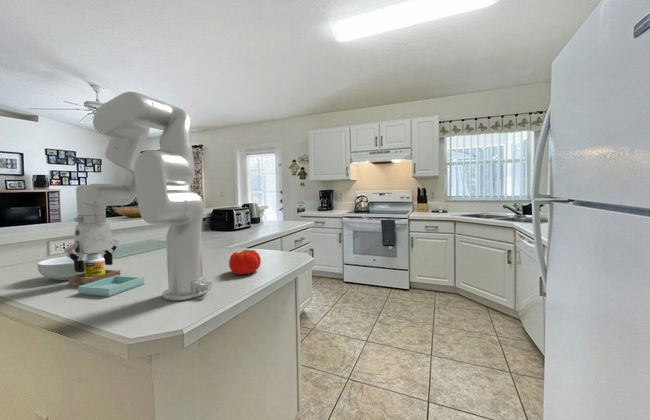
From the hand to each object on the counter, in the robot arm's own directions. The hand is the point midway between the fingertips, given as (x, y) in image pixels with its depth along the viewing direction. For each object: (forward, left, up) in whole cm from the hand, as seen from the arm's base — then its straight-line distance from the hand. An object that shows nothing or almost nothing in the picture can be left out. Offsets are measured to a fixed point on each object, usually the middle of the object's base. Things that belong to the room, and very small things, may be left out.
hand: (94, 268), depth 95 cm
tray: (-14, +5, -5) cm, 16 cm away
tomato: (-47, -20, -5) cm, 51 cm away
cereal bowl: (+16, -3, -5) cm, 17 cm away
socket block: (0, 0, -5) cm, 5 cm away
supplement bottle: (0, 0, -5) cm, 5 cm away
